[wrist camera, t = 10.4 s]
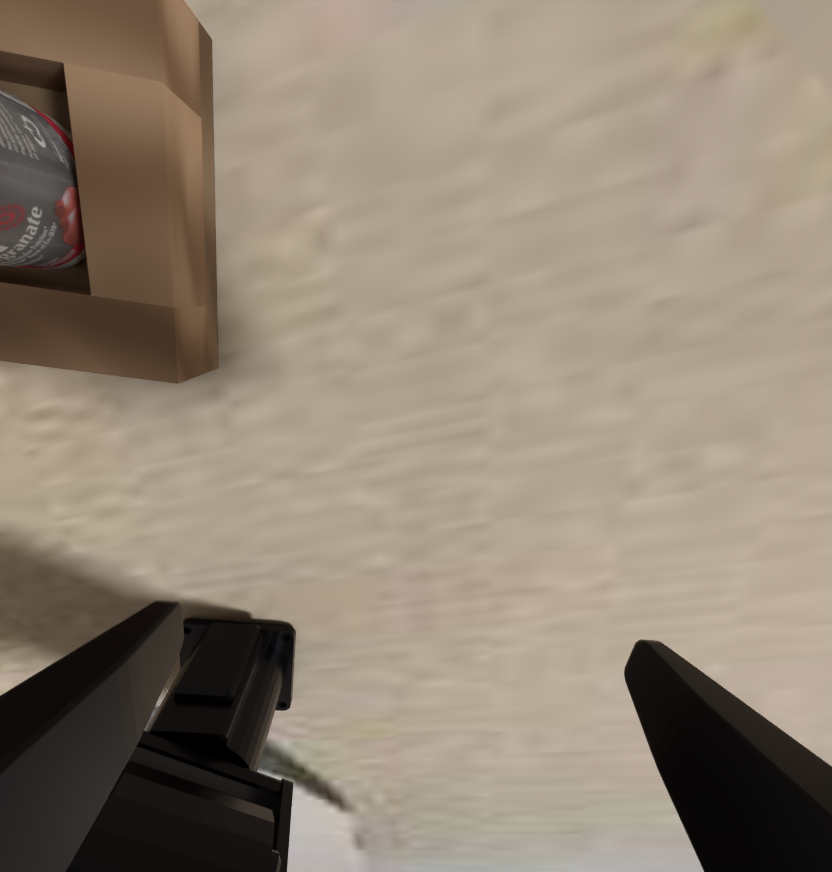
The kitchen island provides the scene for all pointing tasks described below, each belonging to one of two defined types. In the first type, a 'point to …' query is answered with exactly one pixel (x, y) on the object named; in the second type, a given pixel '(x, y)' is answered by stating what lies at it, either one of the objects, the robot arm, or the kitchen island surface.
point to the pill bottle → (37, 190)
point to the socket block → (120, 188)
